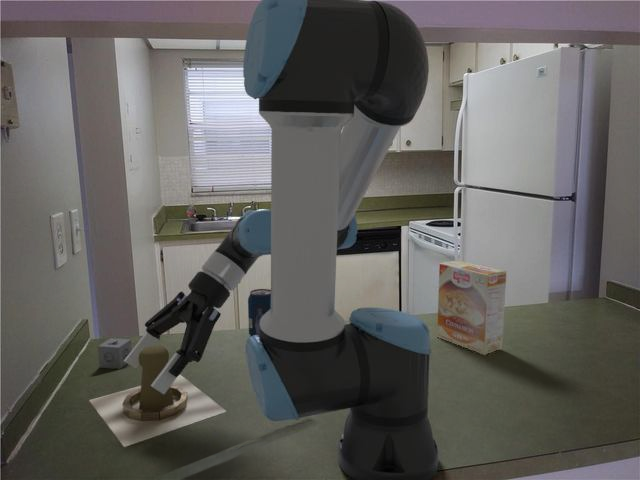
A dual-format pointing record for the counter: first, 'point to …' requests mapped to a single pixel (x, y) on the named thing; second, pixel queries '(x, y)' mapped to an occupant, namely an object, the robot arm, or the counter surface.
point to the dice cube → (114, 353)
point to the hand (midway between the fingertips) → (142, 376)
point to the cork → (153, 378)
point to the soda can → (257, 308)
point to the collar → (155, 414)
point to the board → (142, 430)
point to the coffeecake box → (471, 305)
